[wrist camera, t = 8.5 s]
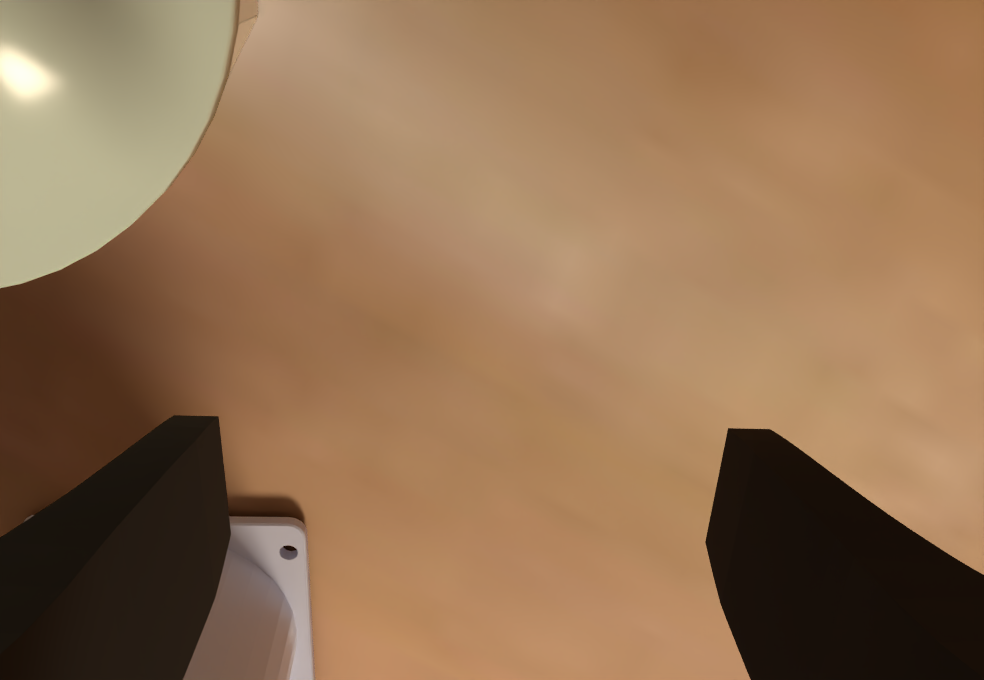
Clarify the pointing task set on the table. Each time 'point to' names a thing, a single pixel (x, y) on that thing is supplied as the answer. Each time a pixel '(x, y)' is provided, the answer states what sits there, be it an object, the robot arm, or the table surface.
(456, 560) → the table surface
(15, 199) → the lid
